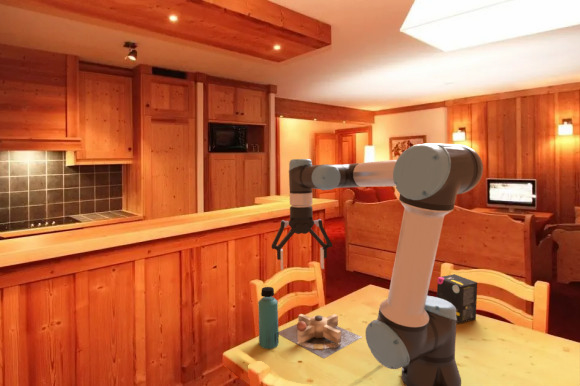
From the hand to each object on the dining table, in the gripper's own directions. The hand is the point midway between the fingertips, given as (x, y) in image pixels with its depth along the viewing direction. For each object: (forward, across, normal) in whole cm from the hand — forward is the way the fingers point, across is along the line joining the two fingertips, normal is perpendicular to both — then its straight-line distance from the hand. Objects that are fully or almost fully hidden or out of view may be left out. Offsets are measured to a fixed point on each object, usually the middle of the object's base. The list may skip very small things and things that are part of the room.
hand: (302, 268), depth 123 cm
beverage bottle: (+24, +12, +6) cm, 28 cm away
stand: (+24, -5, +2) cm, 25 cm away
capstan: (+23, -5, +2) cm, 23 cm away
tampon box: (+25, -60, -12) cm, 66 cm away
